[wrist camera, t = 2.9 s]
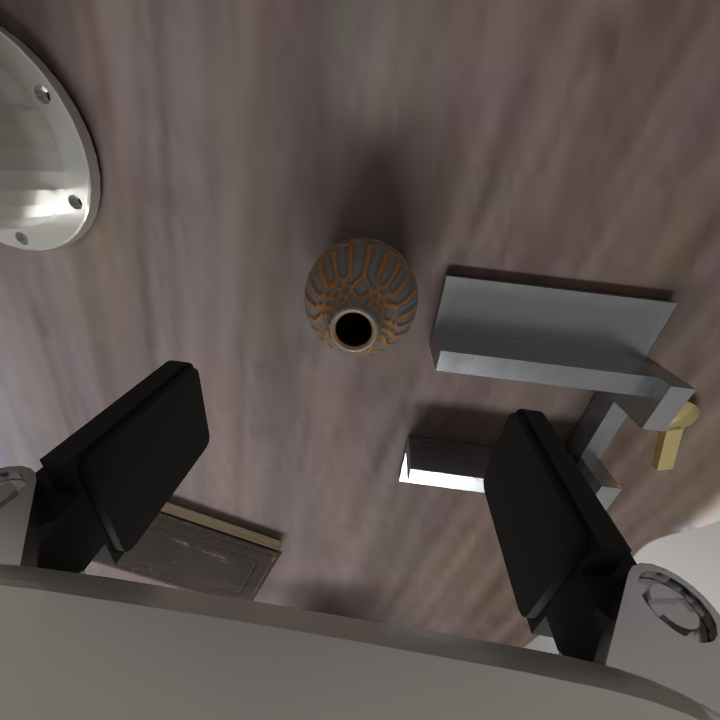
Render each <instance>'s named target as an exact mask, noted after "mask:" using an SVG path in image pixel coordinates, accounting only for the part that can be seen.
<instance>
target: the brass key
mask: <svg viewBox="0 0 720 720" xmlns="http://www.w3.org/2000/svg"><path fill="white" fill-rule="evenodd" d="M698 415H699V409H698V407H697V406H696V405H694V404H693V403H691V402H690V401H689V400H688V401H687V402H686V404H685V405H684V407H683V408H682V409H681V411H680V412H679V413H678V415H677V416H676V417H675V419H674V420H673V421H672V423H671V424H670V425H669V427H668V428H667V429H666V431H665V432H663V431H659V434H658V438H657V442H656V447H655V451H654V455H653V460H652V464H651V465H652V466H653V467H654V468H655V469H656V470H667V469H673V465H674V462H675V458H676V454H677V451H678V447H679V444H680V440H681V436H682V433H683V429H684V428H685V427H687V426H689V425H691V424H692V423H693V422H694V421H695V420H696V419H697V417H698Z"/></svg>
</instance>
